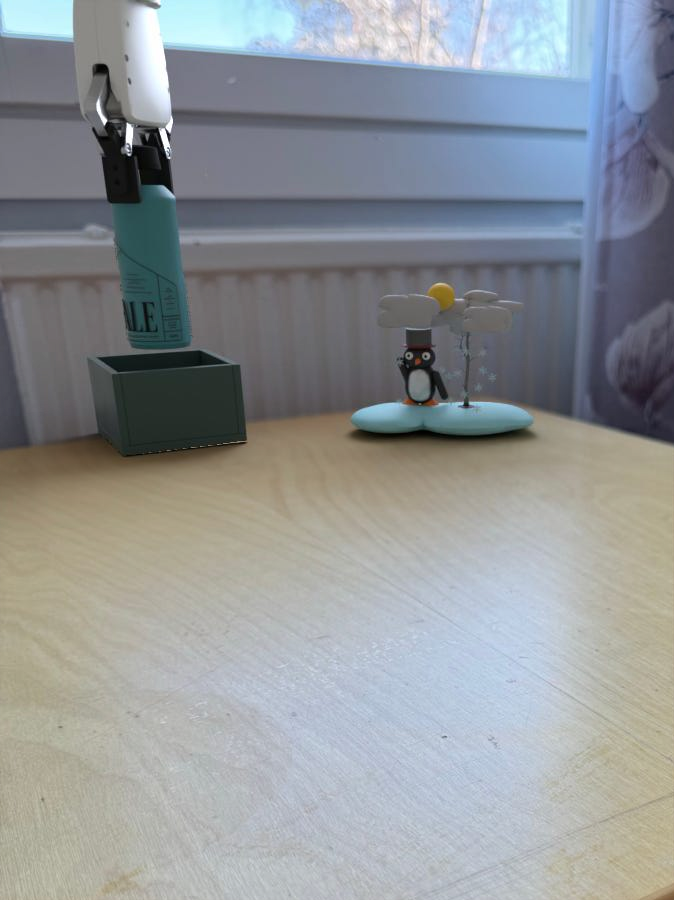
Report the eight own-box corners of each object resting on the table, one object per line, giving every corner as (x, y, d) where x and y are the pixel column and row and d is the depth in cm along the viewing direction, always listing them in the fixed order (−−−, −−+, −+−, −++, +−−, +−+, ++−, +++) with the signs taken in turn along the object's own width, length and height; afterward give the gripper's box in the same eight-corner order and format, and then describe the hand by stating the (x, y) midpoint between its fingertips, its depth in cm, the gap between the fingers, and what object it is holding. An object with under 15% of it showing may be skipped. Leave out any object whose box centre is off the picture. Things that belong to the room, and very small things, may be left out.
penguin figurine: (344, 439, 105) (336, 288, 99) (360, 418, 115) (354, 279, 109) (533, 442, 105) (537, 290, 98) (533, 421, 114) (537, 281, 108)
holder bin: (123, 456, 98) (111, 374, 95) (98, 432, 108) (86, 356, 105) (247, 442, 104) (240, 364, 101) (212, 420, 114) (205, 348, 111)
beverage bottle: (200, 355, 106) (178, 146, 98) (187, 365, 100) (163, 143, 92) (138, 356, 106) (110, 146, 98) (121, 365, 100) (91, 142, 92)
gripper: (120, 3, 98) (145, 202, 105) (23, -33, 82) (60, 204, 89) (193, 1, 97) (213, 202, 104) (109, -36, 81) (139, 204, 88)
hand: (142, 201), depth 97 cm, fingers closed on beverage bottle, 6 cm apart
